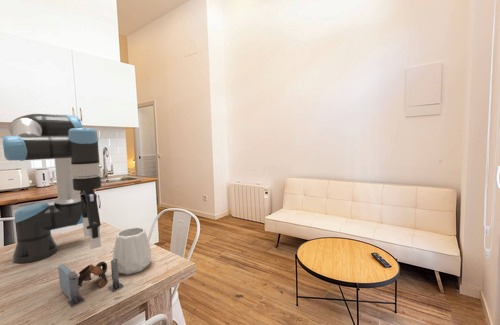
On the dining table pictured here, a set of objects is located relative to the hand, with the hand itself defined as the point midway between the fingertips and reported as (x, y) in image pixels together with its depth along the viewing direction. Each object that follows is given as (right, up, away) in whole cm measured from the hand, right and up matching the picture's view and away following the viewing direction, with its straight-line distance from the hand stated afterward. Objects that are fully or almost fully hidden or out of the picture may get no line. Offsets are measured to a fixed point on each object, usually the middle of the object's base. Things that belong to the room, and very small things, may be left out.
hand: (92, 241), depth 79 cm
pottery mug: (-5, -19, +9) cm, 21 cm away
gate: (-9, -19, +2) cm, 21 cm away
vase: (+4, -17, +20) cm, 27 cm away
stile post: (+5, -18, +6) cm, 20 cm away
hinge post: (-4, -19, -1) cm, 20 cm away
